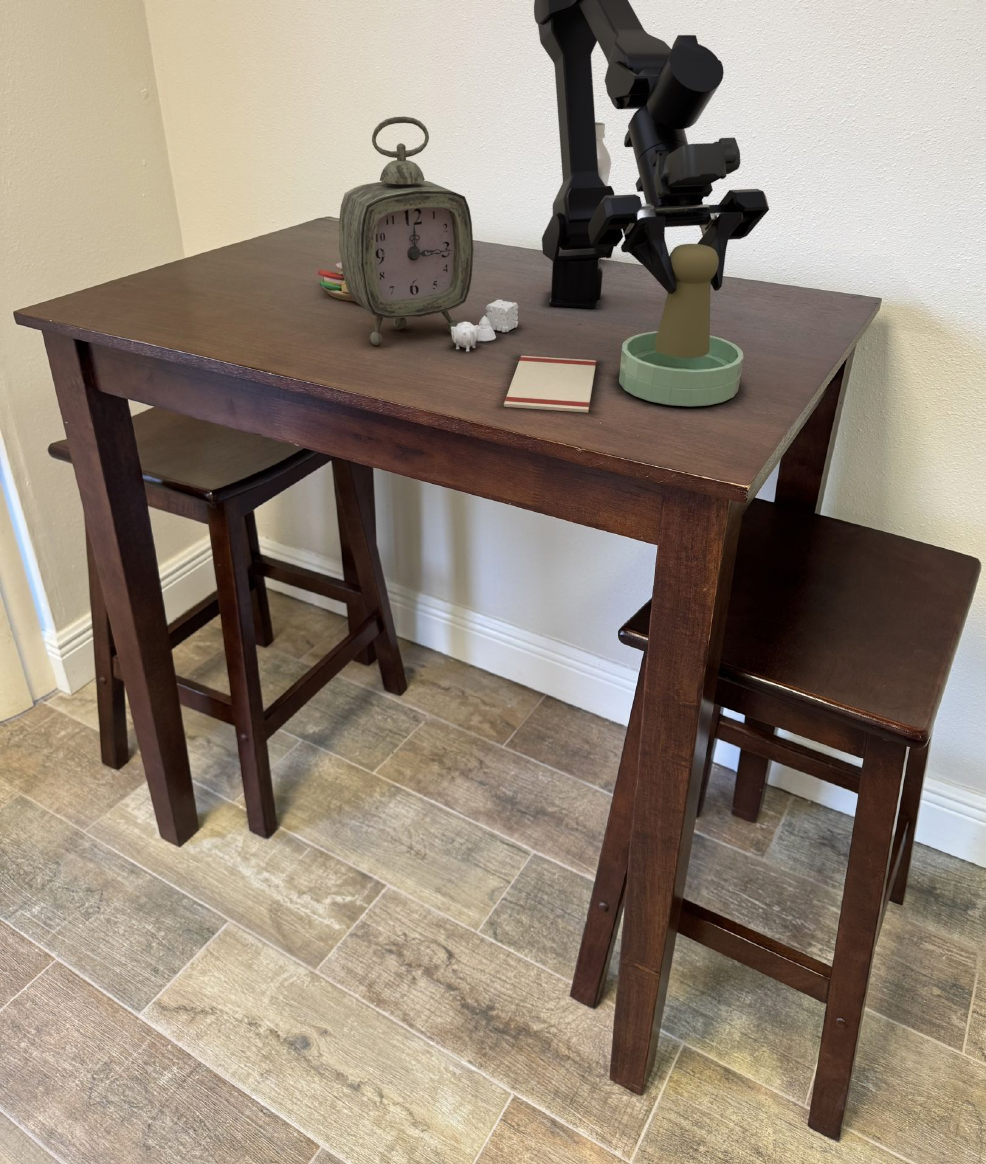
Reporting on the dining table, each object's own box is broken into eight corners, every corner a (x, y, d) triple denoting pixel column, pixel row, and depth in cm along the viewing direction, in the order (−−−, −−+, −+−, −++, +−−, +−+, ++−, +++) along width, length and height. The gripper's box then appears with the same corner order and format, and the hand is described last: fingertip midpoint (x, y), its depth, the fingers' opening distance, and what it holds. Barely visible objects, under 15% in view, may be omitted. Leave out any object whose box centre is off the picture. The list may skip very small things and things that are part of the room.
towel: (503, 406, 100) (503, 402, 100) (520, 358, 113) (521, 355, 112) (588, 412, 99) (588, 408, 99) (596, 363, 112) (596, 359, 111)
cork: (709, 360, 101) (725, 255, 95) (652, 355, 102) (664, 251, 96) (709, 341, 106) (725, 240, 100) (655, 336, 107) (667, 236, 100)
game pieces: (497, 323, 124) (497, 298, 122) (518, 327, 122) (519, 302, 120) (447, 349, 115) (446, 323, 113) (470, 354, 114) (470, 328, 112)
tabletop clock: (366, 352, 114) (352, 124, 100) (340, 330, 120) (324, 114, 107) (473, 335, 119) (473, 118, 106) (443, 315, 126) (440, 108, 112)
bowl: (616, 404, 101) (620, 366, 99) (620, 361, 112) (624, 327, 110) (741, 412, 100) (747, 375, 97) (733, 369, 111) (738, 334, 108)
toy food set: (366, 311, 127) (364, 286, 125) (298, 292, 134) (296, 269, 132) (430, 289, 136) (429, 266, 134) (364, 273, 143) (362, 251, 141)
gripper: (607, 108, 91) (642, 254, 89) (777, 104, 96) (814, 243, 93) (573, 179, 102) (603, 311, 99) (727, 172, 107) (760, 298, 104)
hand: (695, 290), depth 99 cm, fingers closed on cork, 5 cm apart
